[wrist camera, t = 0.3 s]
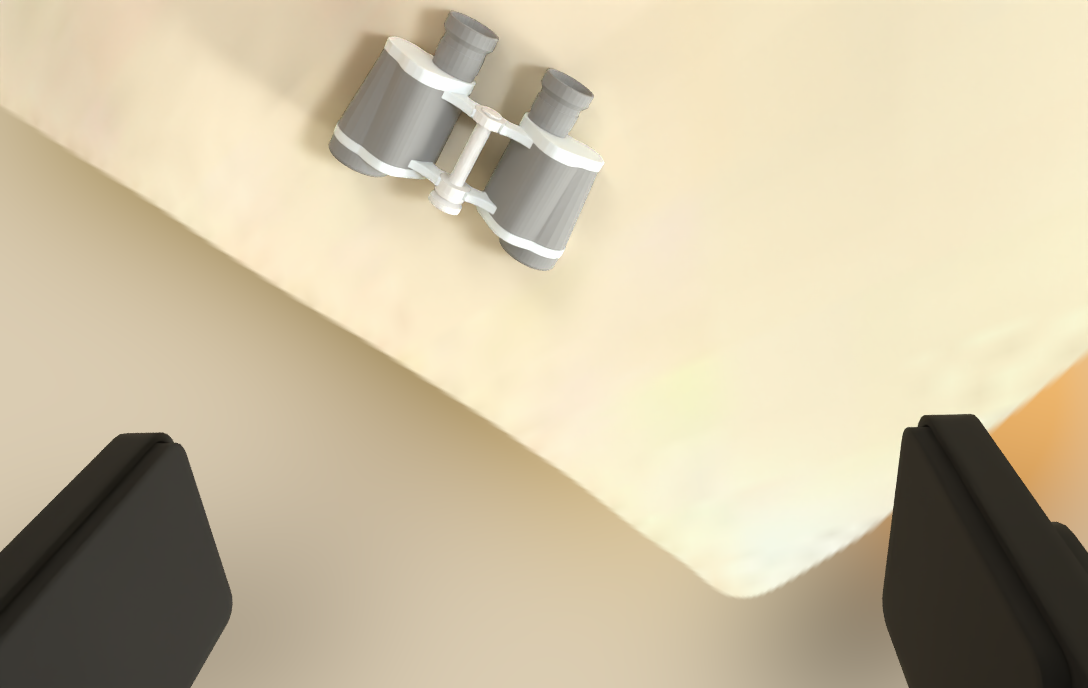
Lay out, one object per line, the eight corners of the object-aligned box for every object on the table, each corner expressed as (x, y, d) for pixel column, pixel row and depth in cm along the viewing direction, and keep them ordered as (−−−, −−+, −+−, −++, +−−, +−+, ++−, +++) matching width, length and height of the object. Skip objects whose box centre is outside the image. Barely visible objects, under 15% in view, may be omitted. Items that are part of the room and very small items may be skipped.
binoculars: (338, 136, 40) (314, 154, 37) (407, -22, 37) (387, -16, 34) (555, 257, 42) (549, 284, 39) (640, 117, 39) (641, 135, 36)
